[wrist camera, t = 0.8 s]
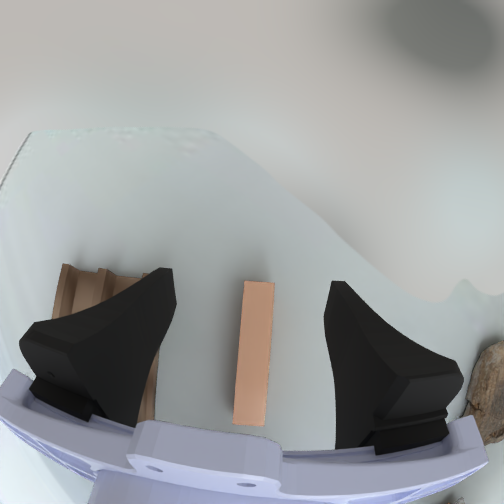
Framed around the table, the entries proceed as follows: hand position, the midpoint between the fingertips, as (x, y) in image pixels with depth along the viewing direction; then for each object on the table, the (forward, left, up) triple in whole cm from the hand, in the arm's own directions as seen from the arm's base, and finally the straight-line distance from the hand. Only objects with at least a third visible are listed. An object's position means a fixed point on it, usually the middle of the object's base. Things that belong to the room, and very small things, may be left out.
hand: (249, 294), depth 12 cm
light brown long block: (-3, 0, -14) cm, 15 cm away
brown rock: (-11, -35, -15) cm, 40 cm away
